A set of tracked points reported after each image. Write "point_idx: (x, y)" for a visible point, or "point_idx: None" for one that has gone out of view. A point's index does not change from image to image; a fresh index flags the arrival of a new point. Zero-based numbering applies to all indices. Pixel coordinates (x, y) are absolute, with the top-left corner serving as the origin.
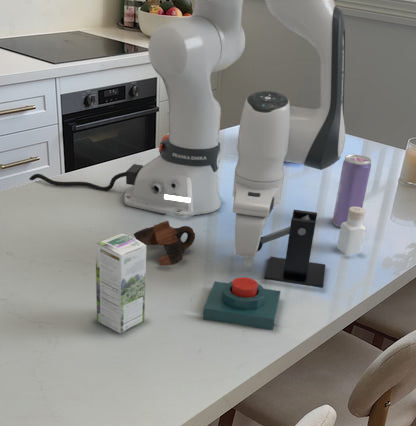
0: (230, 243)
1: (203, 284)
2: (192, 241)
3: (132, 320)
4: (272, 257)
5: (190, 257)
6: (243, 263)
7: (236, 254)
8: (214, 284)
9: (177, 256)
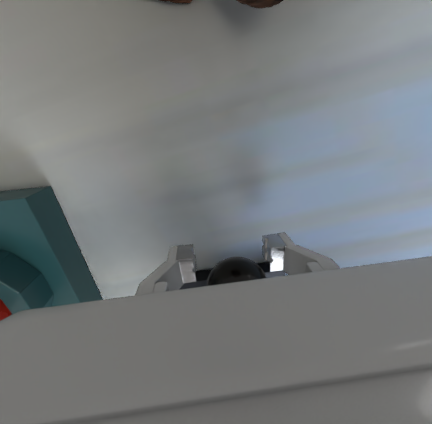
0: (371, 143)
1: (72, 143)
2: (248, 2)
3: None
4: (280, 274)
5: (234, 30)
6: (169, 250)
7: (15, 313)
8: (2, 204)
9: None
